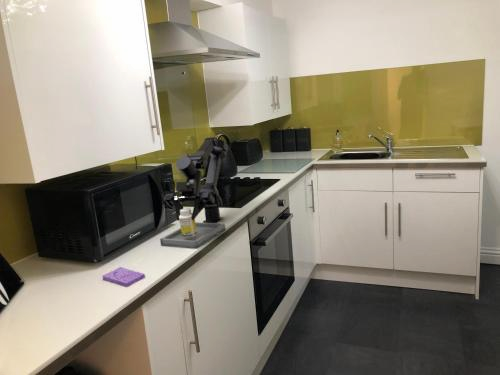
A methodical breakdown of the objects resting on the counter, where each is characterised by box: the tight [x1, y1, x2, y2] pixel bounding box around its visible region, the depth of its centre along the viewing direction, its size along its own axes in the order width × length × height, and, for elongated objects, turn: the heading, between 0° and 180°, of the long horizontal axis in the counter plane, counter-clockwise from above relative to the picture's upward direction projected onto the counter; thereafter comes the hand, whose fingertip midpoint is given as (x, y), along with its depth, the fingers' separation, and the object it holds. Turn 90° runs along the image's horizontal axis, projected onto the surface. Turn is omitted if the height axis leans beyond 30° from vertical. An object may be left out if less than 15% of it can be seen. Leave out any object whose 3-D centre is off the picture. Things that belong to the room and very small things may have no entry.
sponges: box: [102, 266, 146, 287], centre depth 127 cm, size 7×13×2 cm, turn 53°
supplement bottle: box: [179, 207, 197, 238], centre depth 152 cm, size 6×6×10 cm
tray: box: [159, 221, 226, 249], centre depth 158 cm, size 20×16×2 cm
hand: (185, 219), depth 151 cm, fingers closed on supplement bottle, 5 cm apart
